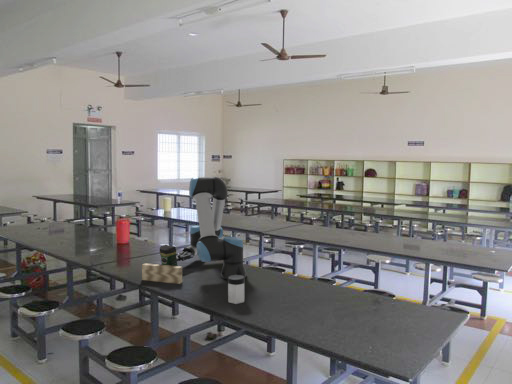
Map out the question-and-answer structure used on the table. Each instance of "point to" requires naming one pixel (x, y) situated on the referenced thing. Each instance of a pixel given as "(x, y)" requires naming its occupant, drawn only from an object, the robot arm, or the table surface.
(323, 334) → the table surface
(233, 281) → the jar
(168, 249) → the coffee jar
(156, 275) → the wooden block
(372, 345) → the table surface
